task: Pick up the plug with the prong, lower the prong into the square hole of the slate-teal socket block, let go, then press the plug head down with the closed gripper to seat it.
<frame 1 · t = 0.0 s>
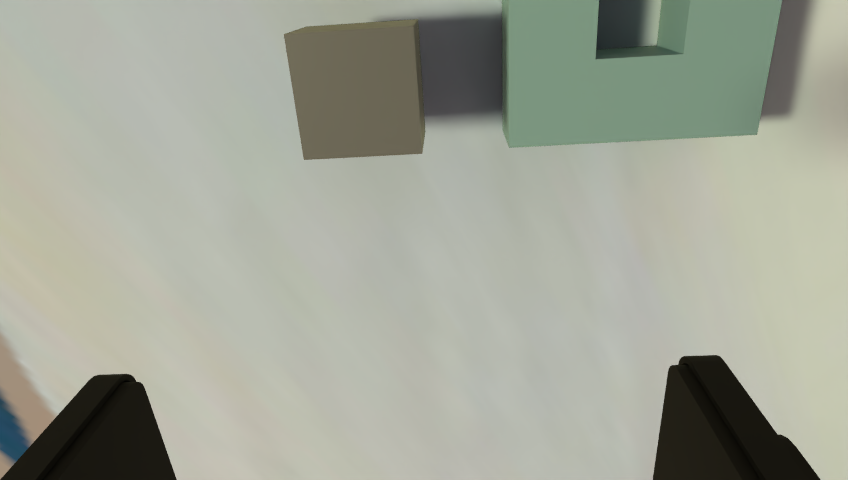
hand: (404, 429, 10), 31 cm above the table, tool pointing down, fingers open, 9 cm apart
plug: (375, 71, 38), on the table
socket: (620, 6, 35), on the table
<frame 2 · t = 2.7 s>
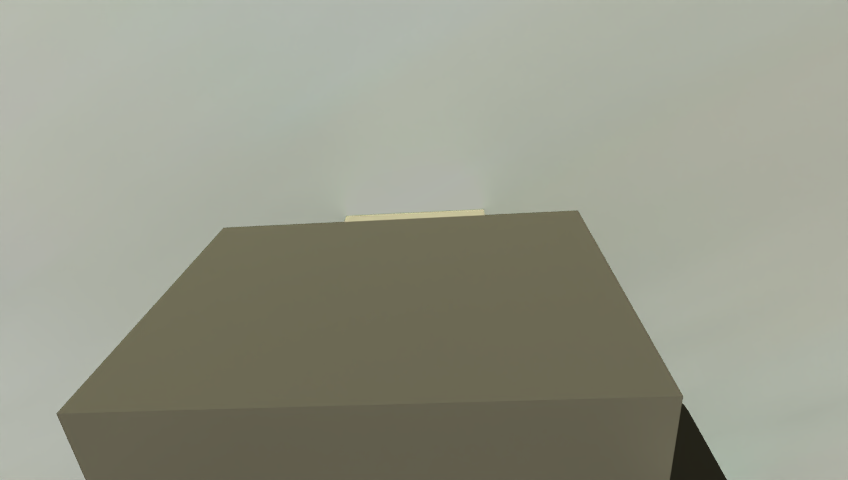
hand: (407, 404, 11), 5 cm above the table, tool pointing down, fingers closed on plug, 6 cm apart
plug: (419, 273, 15), on the table, touching gripper
when the fingers open (6 cm above the table, at t = 8.3 s): plug stays where it is, resting on socket.
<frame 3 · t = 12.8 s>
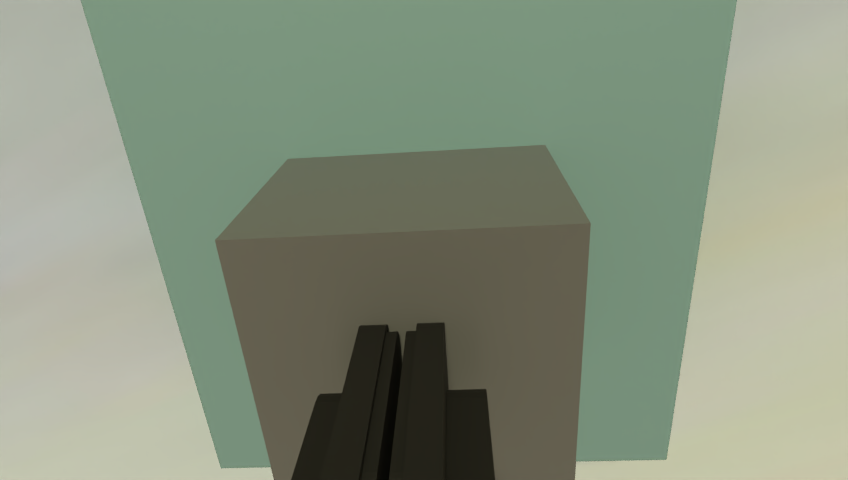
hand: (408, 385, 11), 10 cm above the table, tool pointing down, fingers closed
plug: (428, 212, 19), resting on socket, touching gripper
socket: (427, 207, 20), on the table
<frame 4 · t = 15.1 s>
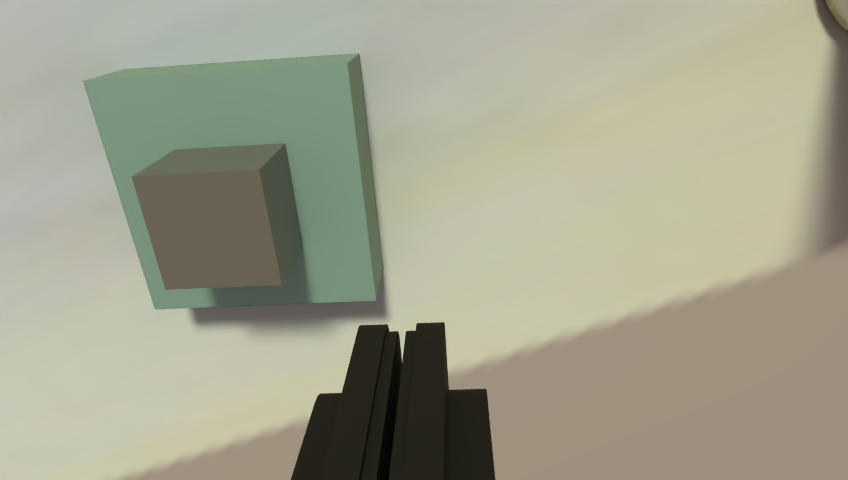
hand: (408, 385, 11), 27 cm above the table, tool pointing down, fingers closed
plug: (261, 178, 38), resting on socket
socket: (263, 175, 38), on the table
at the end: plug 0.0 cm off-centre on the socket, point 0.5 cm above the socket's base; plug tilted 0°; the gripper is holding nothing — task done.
